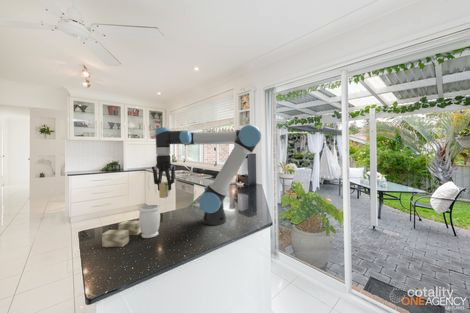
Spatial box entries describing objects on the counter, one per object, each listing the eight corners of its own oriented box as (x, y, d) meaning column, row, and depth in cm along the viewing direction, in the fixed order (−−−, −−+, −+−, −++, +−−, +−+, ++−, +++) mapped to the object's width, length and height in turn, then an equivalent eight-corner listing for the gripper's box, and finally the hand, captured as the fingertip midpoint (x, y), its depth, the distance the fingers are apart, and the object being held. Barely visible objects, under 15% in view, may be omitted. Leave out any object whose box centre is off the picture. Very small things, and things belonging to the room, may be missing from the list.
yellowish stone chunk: (169, 195, 118) (169, 181, 118) (165, 197, 112) (165, 183, 112) (163, 195, 118) (163, 181, 118) (159, 197, 112) (159, 183, 112)
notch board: (141, 231, 113) (141, 220, 113) (123, 246, 95) (122, 233, 95) (123, 231, 113) (123, 220, 113) (102, 246, 95) (101, 234, 95)
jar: (152, 240, 102) (152, 210, 101) (134, 238, 104) (134, 209, 103) (164, 231, 112) (163, 205, 112) (147, 230, 114) (147, 204, 114)
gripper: (179, 154, 118) (181, 194, 118) (152, 155, 119) (153, 194, 119) (175, 154, 110) (176, 197, 111) (145, 155, 111) (147, 197, 112)
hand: (164, 196), depth 115 cm, fingers closed on yellowish stone chunk, 3 cm apart
